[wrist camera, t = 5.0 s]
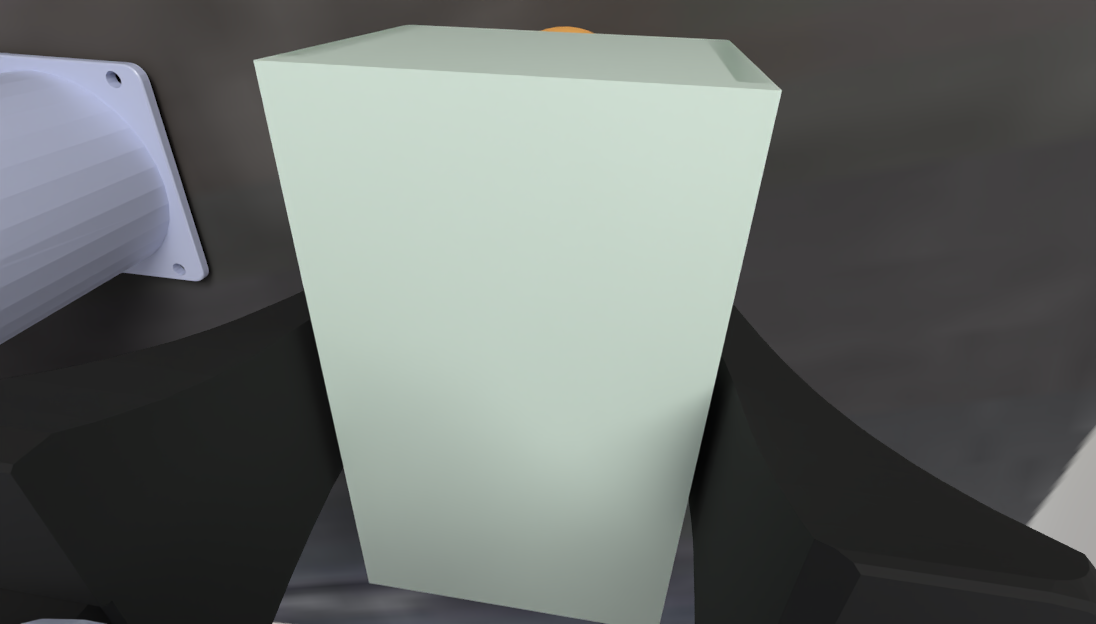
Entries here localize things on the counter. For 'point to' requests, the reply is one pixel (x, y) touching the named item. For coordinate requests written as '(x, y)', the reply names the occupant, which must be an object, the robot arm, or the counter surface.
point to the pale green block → (520, 294)
